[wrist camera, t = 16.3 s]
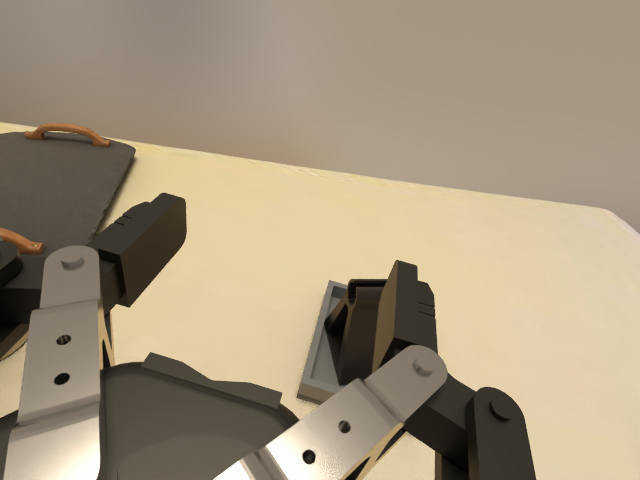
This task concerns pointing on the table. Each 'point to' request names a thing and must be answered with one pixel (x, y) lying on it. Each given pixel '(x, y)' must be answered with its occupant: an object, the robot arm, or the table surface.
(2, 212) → the serving board
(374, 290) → the phone stand
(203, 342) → the table surface
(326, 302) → the tray
